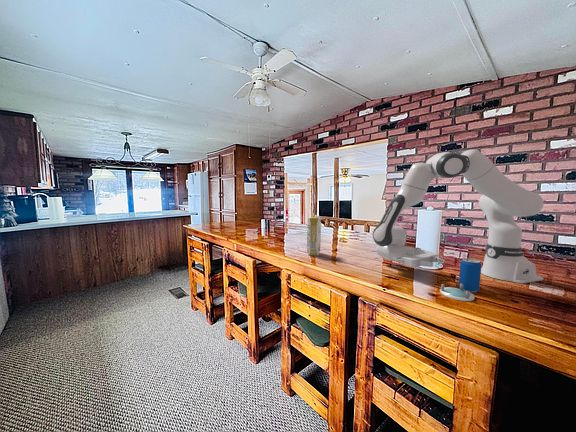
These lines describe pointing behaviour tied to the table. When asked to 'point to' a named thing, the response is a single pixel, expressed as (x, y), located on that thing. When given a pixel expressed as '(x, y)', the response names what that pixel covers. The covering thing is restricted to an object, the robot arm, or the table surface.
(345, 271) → the table surface
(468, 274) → the beverage can
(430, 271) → the table surface
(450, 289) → the pin cradle
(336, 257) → the table surface
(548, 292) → the table surface
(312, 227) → the juice carton
